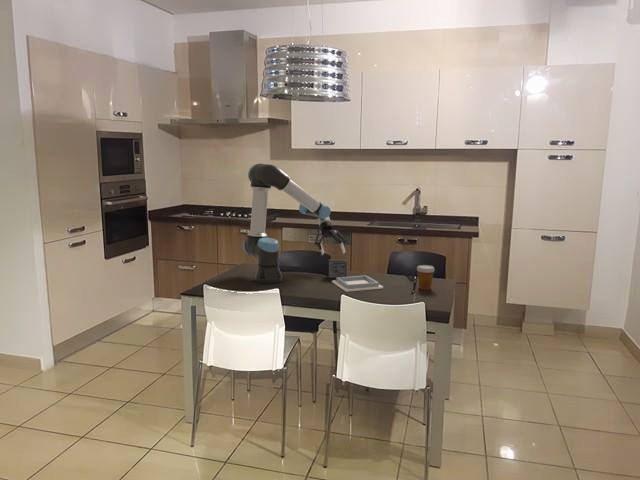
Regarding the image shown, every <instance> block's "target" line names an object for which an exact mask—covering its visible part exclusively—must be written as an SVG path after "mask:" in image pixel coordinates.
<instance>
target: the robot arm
mask: <svg viewBox="0 0 640 480" xmlns="http://www.w3.org/2000/svg"><path fill="white" fill-rule="evenodd" d="M247 178H248V180H249V181H250V188H251V189H252V198H251V199H252V202H251V216H250V230H249V232H248V233H247V235H246V238H245V240H244V241H243V243H242V244H243V245H242V249H243V250H244V253H245V254H246V255H248V256H249V257H251V258H254V259H256V260H257V269H256V273H255V276H254V282H256V283H259V284H265V285H266V284H277V283H280V282H282V281H283V275H282V273H281V270H280V265H279V264H280V243H279V241H278V240H277V239H275V238H271V237H268V234H267V233H266V226H267V225H266V224H267V223H266V222H267V211H268V209H267V208H268V199H269V198H268V197H269V195H268V194H269V192H270V190H272V187H273V188H275V189H277V190H279V191H283V192H284V193H285V194H286V195H288V196H289V197H291V199H293V200H295V201H296V202H297V203H298V204H299V207H298V211H299V213H300V214H303V215H306V216H312V217H316V219H317V222H318V226H319V229H320V230H319V229H317V231H316V237H315V241H314V244H313V245H315V246H317V247H318V250H320V253H321V256H324V254H325V250H324V246H323V243H322V242H323V240H324V239H325V238H326V239H327V238H329V239H330V238H332V239H334V240H335V241H336V242H338V243H339V244H340V248H341V251H342V254H343V255H344V254H345V253H346V252H347V251H346V243H347V241H348V240H347V238H345V237H344V235H342V233H341V232H340V230H339V229H335V230H334V228H333V225H332V221H331V219H330V218H331V217H330V216H331V208H330V206H328V205H326V203H325V202H324V201H319V200H318V199H317V198H315V197H314V196H312V195H311V194H310V193H308V192H307V191H306V190H305V189H303V188H302V187H301V186H300V185H298V184H297V183H296V182H294V181H293V180H292V179H291V177H290V175H288V174H287V173H285V172H284V171H283V170H281V168H279V167H277V166H276V165H273V164H268V163H255V164H254V165H252V166H251V167H250V168H249V170H248V173H247ZM320 235H322V237H320ZM319 237H320V239H319ZM318 240H319V241H318Z"/></svg>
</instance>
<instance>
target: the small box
mask: <svg viewBox="0 0 640 480" xmlns="http://www.w3.org/2000/svg"><path fill="white" fill-rule="evenodd" d="M327 261H328V270H327V271H328V277H327V278H328V279H329V278H330V279H331V280H332V279H333V280H336V278H338V277H348V275H347V272H348V271H347V269H348V268H347V266H348V265H347V264H348V259H344V258H343V259H341V258H340V259H338V258H337V259H336V258H330V259H328V260H327Z"/></svg>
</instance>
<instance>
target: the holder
mask: <svg viewBox="0 0 640 480" xmlns="http://www.w3.org/2000/svg"><path fill="white" fill-rule="evenodd" d="M331 283H332V284H334V285H335V286H336V287H338V288H340V289H341V290H342V291H344V292H346V293H349V292H358V291H359V292H360V291H371V290H381V289H383V290H384V285H381V284H380V282H379V281H377V280H375V279H373V278H372V277H370V276H368V275H367V274H365V275H353V276H347V277H338V278H336V279H333V280H332V279H331Z"/></svg>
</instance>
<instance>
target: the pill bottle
mask: <svg viewBox="0 0 640 480" xmlns="http://www.w3.org/2000/svg"><path fill="white" fill-rule="evenodd" d="M435 270H436V269H435V267H434V266H433V265H429V264H420V265H418V266H417V267H416V271H417V279H418V281H417V283H418V288H420V289H419V290H422V289H424V290H423V291H427V290H428V289H429V290H432V289H431V288H432V285H433V284H432V283H433V278H434V273H435ZM429 290H428V291H429Z"/></svg>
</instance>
